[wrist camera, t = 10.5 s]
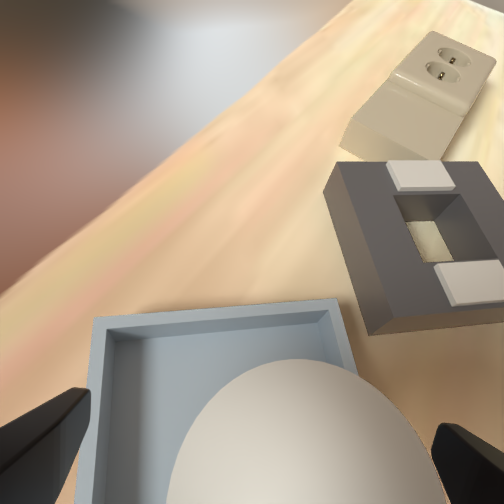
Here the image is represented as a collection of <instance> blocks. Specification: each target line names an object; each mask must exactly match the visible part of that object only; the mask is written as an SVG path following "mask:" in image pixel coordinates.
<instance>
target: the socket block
mask: <svg viewBox="0 0 504 504" xmlns="http://www.w3.org/2000/svg"><path fill="white" fill-rule="evenodd" d="M323 193H324V196H325V200H326V203H327V206H328V209H329V212H330V215H331V218H332V222H333V225H334V228H335V231H336V234H337V237H338V241H339V244H340V247H341V250H342V253H343V256H344V259H345V263H346V266H347V269H348V272H349V275H350V278H351V281H352V285H353V288H354V291H355V294H356V297H357V300H358V303H359V307H360V310H361V313H362V316H363V319H364V322H365V325H366V329H367V332H368V335H369V336H373V335H382V334H392V333H401V332H411V331H421V330H430V329H440V328H450V327H459V326H469V325H478V324H488V323H498V322H504V201H503V199H502V198H501V196H500V195H499V193H498V192H497V190H496V189H495V187H494V186H493V184H492V182H491V181H490V179H489V178H488V176H487V175H486V173H485V172H484V170H483V169H482V167H481V166H480V164H479V163H478V162H441V160H388V162H336V164H335V167H334V169H333V171H332V173H331V175H330V177H329V180H328V182H327V184H326V186H325V188H324V190H323ZM407 221H434V222H435V224H436V225H437V227H438V229H439V231H440V233H441V235H442V237H443V239H444V241H445V243H446V245H447V247H448V249H449V251H450V253H451V255H452V257H453V259H454V261H445V262H429V263H423V261H422V259H421V256H420V254H419V252H418V250H417V248H416V245H415V243H414V241H413V239H412V237H411V234H410V232H409V230H408V228H407V225H406V223H405V222H407Z"/></svg>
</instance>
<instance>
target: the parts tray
mask: <svg viewBox="0 0 504 504" xmlns="http://www.w3.org/2000/svg"><path fill="white" fill-rule="evenodd" d="M288 359H308V360H315V361H321V362H325V363H328V364H332V365H335V366H338V367H340V368H343V369H345V370H347V371H350V372H352V373H354V374H355V375H357V376H359V375H358V371H357V368H356V364H355V361H354V357H353V354H352V350H351V347H350V343H349V340H348V336H347V333H346V329H345V326H344V322H343V319H342V315H341V312H340V308H339V305H338V301H337V298H331V299H319V300H306V301H294V302H281V303H269V304H256V305H244V306H231V307H219V308H206V309H194V310H181V311H169V312H156V313H144V314H131V315H119V316H106V317H94V320H93V329H92V339H91V348H90V358H89V367H88V377H87V386H86V388H87V389H89V390H90V391H91V415H90V423H89V426H88V429H87V431H86V434H85V436H84V438H83V441H82V443H81V445H80V452H79V461H78V471H77V480H76V490H75V499H74V504H166V498H167V493H168V489H169V484H170V479H171V474H172V471H173V468H174V465H175V462H176V458H177V455H178V453H179V450H180V448H181V446H182V444H183V441H184V439H185V437H186V435H187V433H188V431H189V429H190V428H191V426H192V424H193V423H194V421H195V419H196V418H197V416H198V415H199V414H200V412H201V411H202V410H203V408H204V407H205V406H206V404H207V403H208V402H209V401H210V400H211V399H212V398H213V397H214V396H215V395H216V394H217V393H218V392H219V391H220V390H221V389H222V388H223V387H224V386H226V385H227V384H228V383H229V382H231V381H232V380H233V379H235V378H236V377H238V376H240V375H241V374H243V373H245V372H247V371H249V370H251V369H253V368H256V367H258V366H260V365H263V364H267V363H271V362H274V361H280V360H288Z"/></svg>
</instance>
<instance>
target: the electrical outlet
mask: <svg viewBox="0 0 504 504" xmlns="http://www.w3.org/2000/svg"><path fill="white" fill-rule="evenodd" d="M495 65H496V59H495V58H493V57H491V56H488V55H486V54H484V53H482V52H480V51H477V50H475V49H473V48H471V47H468V46H466V45H464V44H462V43H459V42H457V41H455V40H453V39H450V38H448V37H446V36H444V35H441V34H439V33H437V32H434V31H431V32H429V33H428V34H427V35H426V36H425V37H424V38H423V39H422V40H421V41H420V42H419V43H418V45H417V46H416V47H415V48H414V49H413V50H412V51H411V52H410V53H409V54H408V55H407V56H406V57H405V58H404V59H403V60H402V62H401V63H400V64H399V65H398V66H397V67H396V68H395V69H394V70H393V71H392V72H391V74H390V76H389V78H388V79H387V80H386V81H385V82H384V83H383V84H382V86H381V87H380V88H379V89H378V90H377V91H376V92H375V93H374V94H373V95H372V96H371V97H370V98H369V100H368V101H367V102H366V103H365V104H364V105H363V106H362V107H361V108H360V109H359V110H358V111H357V112H356V113H355V115H354V116H353V117H352V118H351V119H350V122H349V124H348V126H347V128H346V131H345V133H344V135H343V137H342V140H341V142H340V144H339V147H341V148H343V149H345V150H346V151H348V152H350V153H352V154H353V155H355V156H357V157H359V158H361V159H362V160H364V161H366V162H388V160H440V159H441V157H442V156H443V154H444V152H445V150H446V149H447V147H448V145H449V143H450V142H451V140H452V138H453V136H454V135H455V133H456V131H457V129H458V128H459V126H460V124H461V122H462V121H463V119H464V117H465V116H466V114H467V113H468V112H469V110H470V109H471V107H472V105H473V103H474V102H475V100H476V98H477V96H478V94H479V93H480V91H481V89H482V87H483V86H484V84H485V82H486V80H487V79H488V77H489V75H490V73H491V72H492V70H493V68H494V66H495Z"/></svg>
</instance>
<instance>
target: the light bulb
mask: <svg viewBox="0 0 504 504" xmlns="http://www.w3.org/2000/svg"><path fill="white" fill-rule="evenodd" d="M166 504H446V500H445V496H444V493H443V489H442V486H441V483H440V481H439V478H438V475H437V472H436V470H435V467H434V465H433V463H432V461H431V459H430V457H429V455H428V452H427V450H426V448H425V447H424V445H423V443H422V442H421V440H420V438H419V437H418V435H417V433H416V432H415V430H414V429H413V427H412V426H411V425H410V423H409V422H408V421H407V419H406V418H405V416H404V415H403V414H402V413H401V412H400V411H399V410H398V408H397V407H396V406H395V405H394V404H393V403H392V402H391V401H390V400H389V399H388V398H387V397H386V396H385V395H383V394H382V393H381V392H380V391H379V390H378V389H376V388H375V387H374V386H372V385H371V384H370V383H368V382H367V381H366V380H364V379H362V378H361V377H359V376H357V375H355V374H354V373H352V372H350V371H347V370H345V369H343V368H340V367H338V366H335V365H332V364H328V363H325V362H321V361H315V360H308V359H288V360H280V361H274V362H271V363H267V364H263V365H260V366H258V367H256V368H253V369H251V370H249V371H247V372H245V373H243V374H241V375H240V376H238V377H236V378H235V379H233V380H232V381H231V382H229V383H228V384H227V385H226V386H224V387H223V388H222V389H221V390H220V391H219V392H218V393H217V394H216V395H215V396H214V397H213V398H212V399H211V400H210V401H209V402H208V403H207V404H206V406H205V407H204V408H203V410H202V411H201V412H200V414H199V415H198V416H197V418H196V419H195V421H194V423H193V424H192V426H191V428H190V429H189V431H188V433H187V435H186V437H185V439H184V441H183V444H182V446H181V448H180V450H179V453H178V455H177V458H176V462H175V465H174V468H173V471H172V474H171V479H170V484H169V489H168V493H167V498H166Z"/></svg>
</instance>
